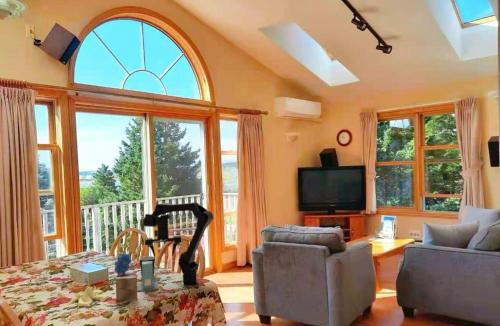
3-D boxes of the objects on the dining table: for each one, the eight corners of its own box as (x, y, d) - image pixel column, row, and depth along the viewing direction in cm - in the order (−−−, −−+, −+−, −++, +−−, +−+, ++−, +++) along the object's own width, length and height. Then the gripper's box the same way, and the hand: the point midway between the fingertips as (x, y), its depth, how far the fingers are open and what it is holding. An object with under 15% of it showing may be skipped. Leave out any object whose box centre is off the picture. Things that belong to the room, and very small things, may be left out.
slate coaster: (157, 283, 203) (157, 282, 203) (158, 289, 193) (158, 288, 193) (137, 285, 200) (137, 284, 200) (137, 291, 190) (137, 290, 190)
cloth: (97, 290, 196) (96, 278, 196) (118, 297, 185) (118, 284, 185) (52, 304, 178) (51, 290, 178) (73, 313, 167) (72, 298, 167)
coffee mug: (151, 278, 211) (151, 260, 211) (136, 278, 213) (136, 260, 213) (160, 272, 222) (160, 255, 222) (146, 272, 224) (146, 254, 224)
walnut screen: (137, 297, 182) (136, 276, 182) (136, 299, 180) (135, 277, 180) (117, 298, 182) (117, 277, 182) (116, 300, 179) (115, 278, 179)
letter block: (153, 284, 200) (152, 260, 199) (153, 287, 195) (152, 263, 194) (142, 285, 198) (142, 261, 198) (142, 288, 193) (142, 264, 193)
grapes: (126, 270, 229) (125, 250, 229) (134, 272, 225) (133, 251, 225) (109, 275, 219) (109, 254, 219) (117, 277, 215) (117, 255, 215)
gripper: (179, 223, 216) (180, 251, 217) (144, 225, 212) (145, 254, 212) (181, 226, 206) (182, 256, 206) (144, 229, 201) (145, 259, 201)
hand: (163, 256), depth 206 cm, fingers open, 9 cm apart
